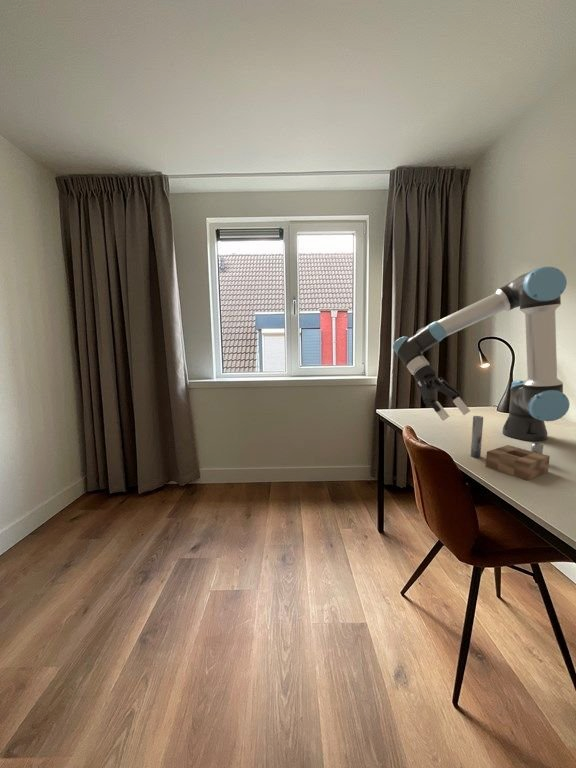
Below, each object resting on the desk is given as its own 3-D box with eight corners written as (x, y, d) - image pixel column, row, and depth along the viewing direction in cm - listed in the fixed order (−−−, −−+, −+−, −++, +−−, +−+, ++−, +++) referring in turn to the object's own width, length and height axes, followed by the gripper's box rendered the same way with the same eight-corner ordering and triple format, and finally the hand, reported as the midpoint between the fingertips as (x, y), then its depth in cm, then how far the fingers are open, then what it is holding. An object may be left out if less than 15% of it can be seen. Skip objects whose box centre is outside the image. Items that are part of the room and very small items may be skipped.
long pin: (473, 454, 117) (476, 415, 115) (482, 456, 114) (485, 417, 112) (468, 455, 116) (471, 416, 114) (477, 458, 113) (479, 418, 111)
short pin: (533, 459, 112) (534, 442, 111) (543, 462, 109) (545, 444, 108) (528, 461, 110) (530, 443, 109) (538, 464, 108) (540, 446, 107)
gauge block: (506, 459, 112) (507, 445, 111) (548, 471, 102) (549, 456, 101) (485, 466, 106) (486, 451, 105) (527, 480, 96) (528, 463, 95)
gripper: (433, 374, 138) (467, 416, 128) (394, 379, 124) (428, 427, 114) (446, 362, 133) (483, 405, 123) (407, 366, 119) (444, 415, 109)
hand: (457, 415), depth 118 cm, fingers open, 13 cm apart
